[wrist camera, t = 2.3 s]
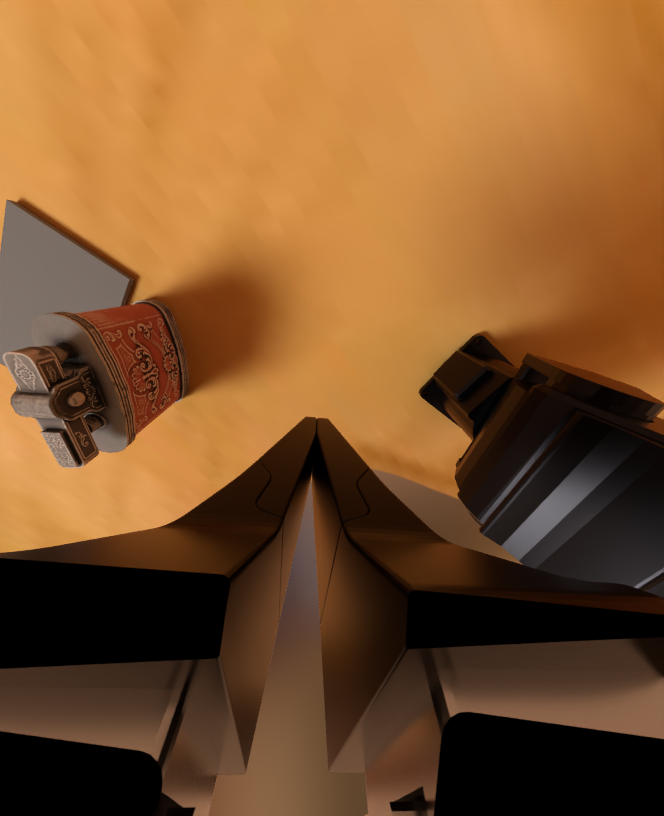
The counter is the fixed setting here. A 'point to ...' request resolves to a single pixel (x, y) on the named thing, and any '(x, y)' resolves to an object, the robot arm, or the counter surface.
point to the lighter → (98, 377)
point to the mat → (49, 277)
